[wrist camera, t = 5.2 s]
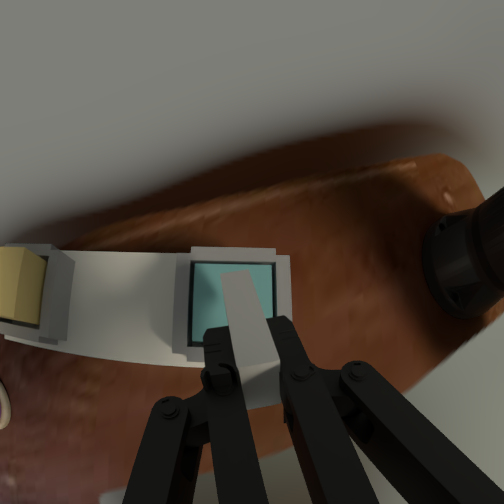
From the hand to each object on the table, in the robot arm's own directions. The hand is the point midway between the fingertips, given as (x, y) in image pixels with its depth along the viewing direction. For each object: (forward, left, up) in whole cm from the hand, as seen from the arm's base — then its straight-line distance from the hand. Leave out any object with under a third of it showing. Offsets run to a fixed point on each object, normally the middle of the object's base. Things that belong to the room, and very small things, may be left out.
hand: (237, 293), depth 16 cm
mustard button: (+18, 0, -5) cm, 19 cm away
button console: (+9, 0, -15) cm, 18 cm away
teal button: (0, 0, -7) cm, 7 cm away
